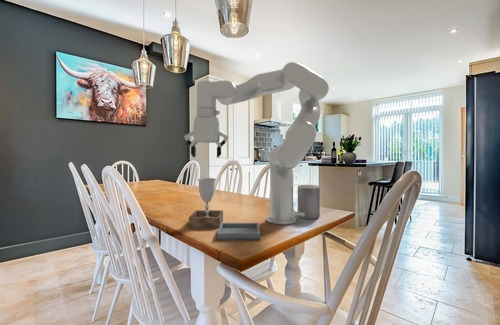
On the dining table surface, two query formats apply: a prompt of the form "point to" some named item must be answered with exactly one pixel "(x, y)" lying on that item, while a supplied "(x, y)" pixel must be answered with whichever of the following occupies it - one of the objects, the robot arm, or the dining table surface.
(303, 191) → the pillar candle
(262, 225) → the dining table surface
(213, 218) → the brown square frame
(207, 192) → the chalice
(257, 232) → the tray
